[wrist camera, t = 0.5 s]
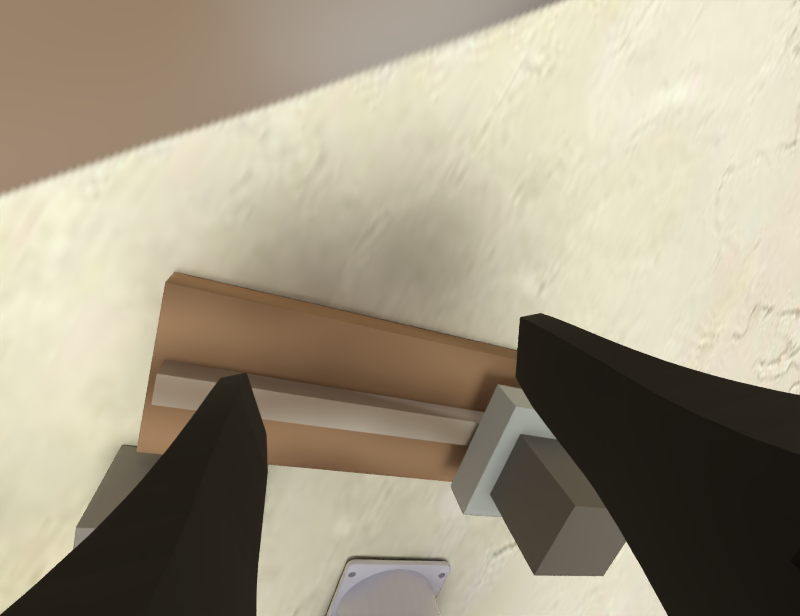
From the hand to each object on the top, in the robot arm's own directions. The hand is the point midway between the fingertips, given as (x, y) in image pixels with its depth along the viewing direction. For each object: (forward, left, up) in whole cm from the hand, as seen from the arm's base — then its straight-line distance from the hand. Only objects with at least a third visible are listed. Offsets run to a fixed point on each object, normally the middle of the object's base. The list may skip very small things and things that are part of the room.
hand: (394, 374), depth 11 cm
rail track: (-7, -5, -11) cm, 14 cm away
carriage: (-7, -12, -8) cm, 16 cm away
